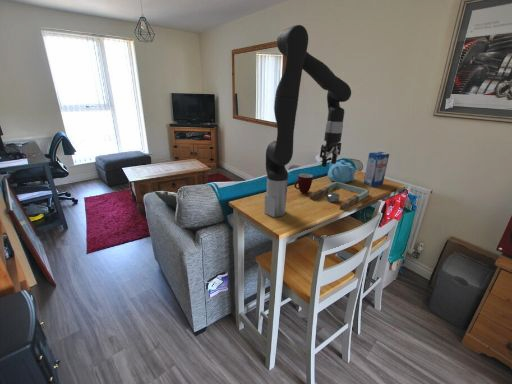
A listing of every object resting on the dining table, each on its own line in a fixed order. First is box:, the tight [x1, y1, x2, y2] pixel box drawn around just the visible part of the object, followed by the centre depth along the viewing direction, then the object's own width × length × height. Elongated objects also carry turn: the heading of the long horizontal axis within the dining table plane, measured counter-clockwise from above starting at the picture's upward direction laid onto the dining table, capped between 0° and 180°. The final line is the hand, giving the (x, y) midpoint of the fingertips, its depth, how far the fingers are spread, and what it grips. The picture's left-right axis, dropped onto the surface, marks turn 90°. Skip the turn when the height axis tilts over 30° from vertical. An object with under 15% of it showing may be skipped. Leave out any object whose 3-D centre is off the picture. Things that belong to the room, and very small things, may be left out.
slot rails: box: [309, 186, 358, 211], centre depth 134 cm, size 16×19×3 cm
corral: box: [324, 181, 370, 202], centre depth 144 cm, size 13×20×3 cm, turn 46°
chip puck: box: [326, 192, 340, 204], centre depth 134 cm, size 6×6×4 cm
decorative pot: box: [327, 159, 356, 184], centre depth 163 cm, size 16×16×14 cm
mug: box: [293, 173, 313, 194], centre depth 143 cm, size 11×8×10 cm
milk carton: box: [363, 151, 390, 188], centre depth 157 cm, size 10×6×20 cm, turn 115°
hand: (328, 165), depth 123 cm, fingers open, 8 cm apart
